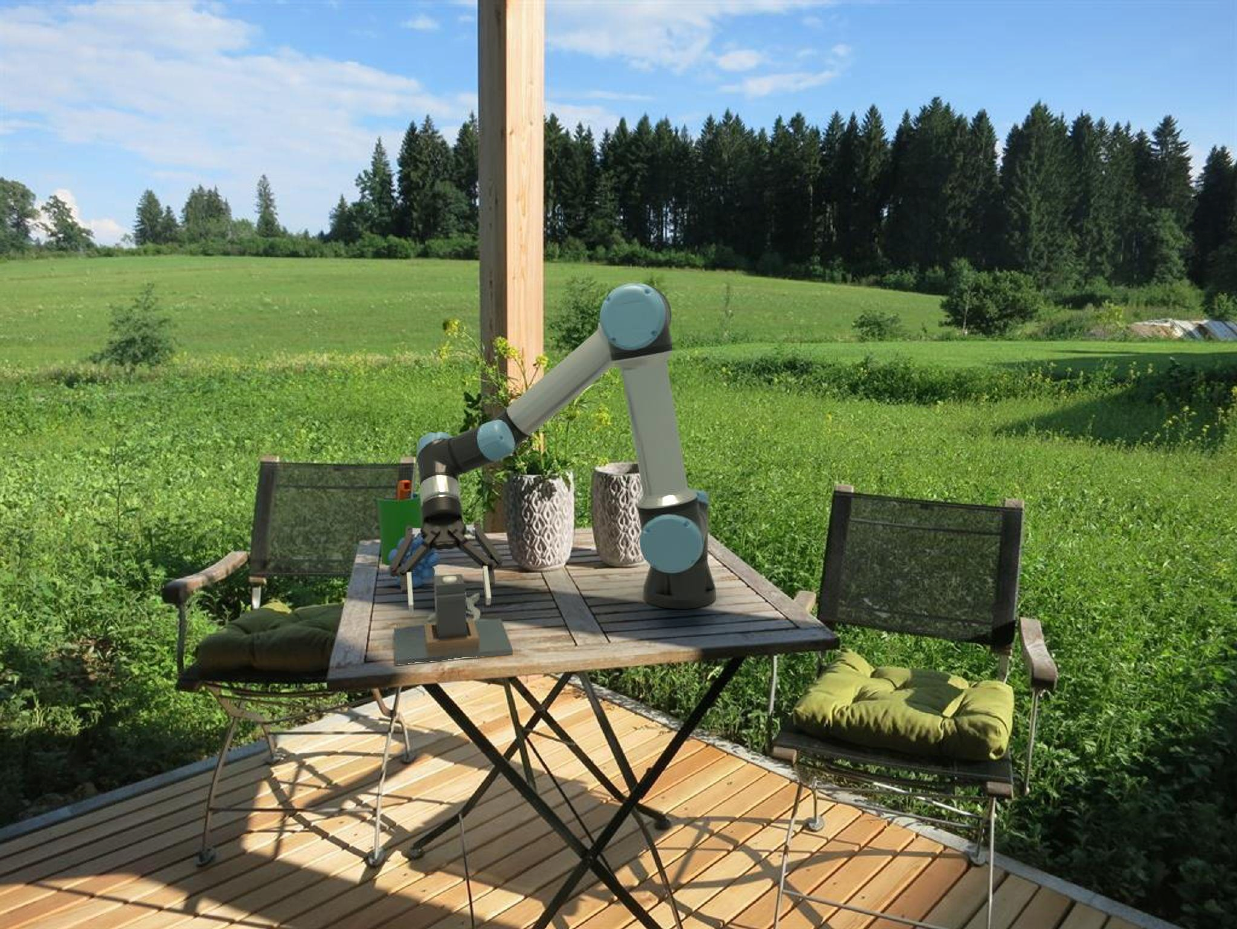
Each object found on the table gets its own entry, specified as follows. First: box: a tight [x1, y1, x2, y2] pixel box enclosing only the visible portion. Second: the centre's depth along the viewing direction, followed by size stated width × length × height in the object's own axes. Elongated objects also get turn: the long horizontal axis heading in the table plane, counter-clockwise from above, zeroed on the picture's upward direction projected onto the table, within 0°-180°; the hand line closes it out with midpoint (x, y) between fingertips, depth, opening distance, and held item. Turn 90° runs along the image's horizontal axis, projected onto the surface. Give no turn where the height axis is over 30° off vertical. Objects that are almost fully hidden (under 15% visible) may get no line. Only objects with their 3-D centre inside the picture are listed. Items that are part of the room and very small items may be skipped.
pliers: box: [426, 591, 481, 623], centre depth 180 cm, size 10×2×15 cm
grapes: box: [387, 535, 441, 589], centre depth 195 cm, size 12×7×12 cm, turn 86°
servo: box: [433, 573, 467, 639], centre depth 161 cm, size 5×8×12 cm, turn 15°
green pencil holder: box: [377, 479, 422, 566], centre depth 215 cm, size 10×9×20 cm
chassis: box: [393, 618, 514, 667], centre depth 162 cm, size 20×16×2 cm
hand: (450, 605), depth 159 cm, fingers open, 13 cm apart
